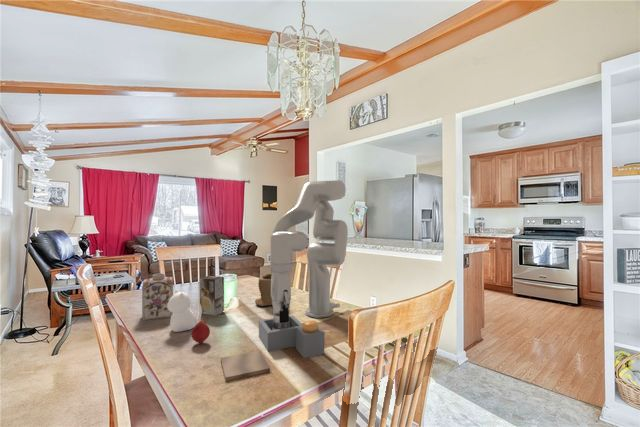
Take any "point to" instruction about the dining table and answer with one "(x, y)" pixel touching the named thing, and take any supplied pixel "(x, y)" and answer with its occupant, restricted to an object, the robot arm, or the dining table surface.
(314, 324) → the orange egg-shaped ball
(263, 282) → the stone cup
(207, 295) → the coffee box
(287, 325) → the plastic bottle
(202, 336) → the onion
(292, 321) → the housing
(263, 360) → the pad
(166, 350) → the dining table surface
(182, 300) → the cat figurine
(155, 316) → the decorative jar
